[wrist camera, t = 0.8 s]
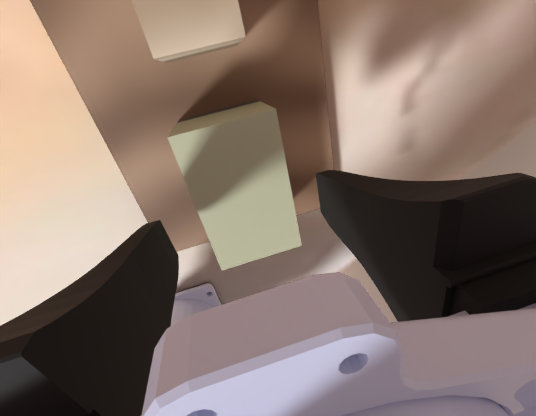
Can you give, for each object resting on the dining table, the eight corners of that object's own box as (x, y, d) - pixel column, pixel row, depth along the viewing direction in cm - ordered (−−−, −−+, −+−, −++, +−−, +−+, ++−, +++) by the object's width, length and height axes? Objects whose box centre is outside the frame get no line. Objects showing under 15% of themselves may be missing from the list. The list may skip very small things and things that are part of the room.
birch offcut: (236, 46, 15) (245, 37, 11) (166, 63, 14) (153, 58, 11) (214, -48, 13) (217, -96, 9) (133, -31, 12) (103, -74, 9)
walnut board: (329, 195, 22) (336, 203, 21) (167, 243, 21) (165, 255, 20) (295, -107, 13) (305, -127, 12) (16, -53, 12) (-7, -68, 11)
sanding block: (281, 208, 20) (301, 245, 16) (218, 227, 20) (221, 270, 15) (257, 99, 16) (275, 108, 12) (178, 120, 16) (167, 137, 11)
